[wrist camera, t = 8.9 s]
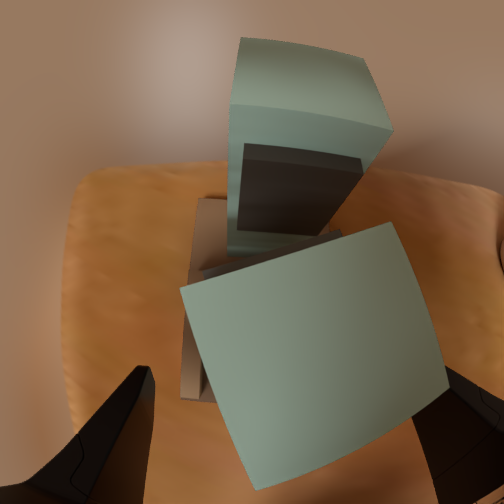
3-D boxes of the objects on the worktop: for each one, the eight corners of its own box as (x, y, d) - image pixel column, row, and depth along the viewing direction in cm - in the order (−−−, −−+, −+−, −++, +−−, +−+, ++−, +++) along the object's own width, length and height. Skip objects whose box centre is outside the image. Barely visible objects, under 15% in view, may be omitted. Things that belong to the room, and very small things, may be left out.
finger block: (307, 366, 16) (449, 387, 4) (235, 392, 15) (255, 490, 4) (281, 296, 17) (378, 197, 6) (210, 319, 16) (171, 256, 5)
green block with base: (325, 399, 16) (476, 456, 4) (183, 396, 15) (90, 491, 3) (323, 214, 20) (412, 75, 8) (199, 205, 20) (177, 37, 7)
